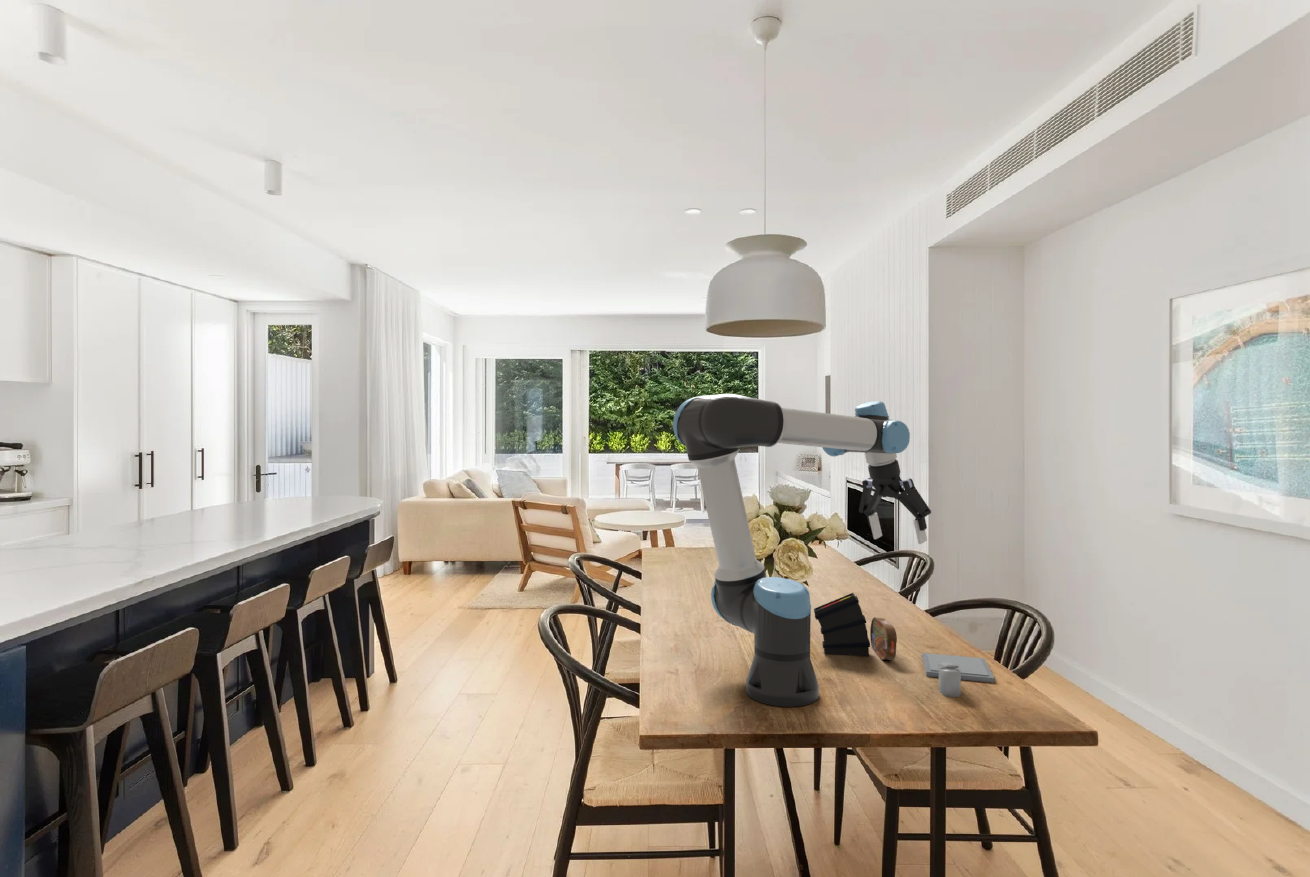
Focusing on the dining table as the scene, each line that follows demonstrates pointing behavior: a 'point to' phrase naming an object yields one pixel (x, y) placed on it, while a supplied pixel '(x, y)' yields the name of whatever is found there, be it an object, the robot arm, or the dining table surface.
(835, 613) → the magazine
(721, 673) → the dining table surface
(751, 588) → the robot arm
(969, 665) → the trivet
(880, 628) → the tin
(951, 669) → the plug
